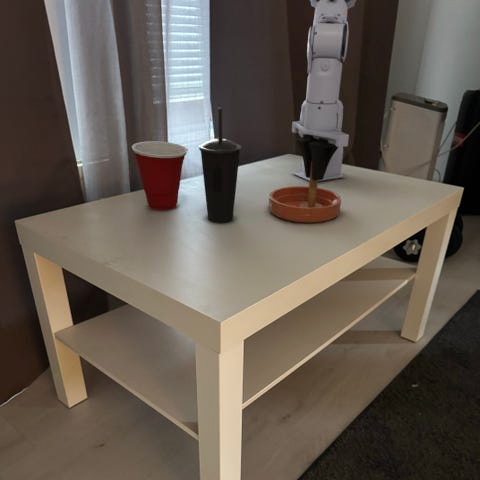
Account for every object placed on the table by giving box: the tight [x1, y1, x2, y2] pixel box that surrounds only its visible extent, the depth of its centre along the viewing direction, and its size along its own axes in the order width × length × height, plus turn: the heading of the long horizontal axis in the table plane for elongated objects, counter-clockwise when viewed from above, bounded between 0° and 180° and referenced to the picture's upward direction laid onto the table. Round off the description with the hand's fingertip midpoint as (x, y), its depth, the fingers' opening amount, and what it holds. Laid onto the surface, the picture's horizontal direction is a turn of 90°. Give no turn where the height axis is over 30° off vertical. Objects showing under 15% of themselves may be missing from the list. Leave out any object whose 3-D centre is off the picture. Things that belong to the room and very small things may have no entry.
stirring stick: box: [300, 162, 322, 208], centre depth 94 cm, size 4×4×10 cm
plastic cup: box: [131, 140, 188, 211], centre depth 97 cm, size 11×11×12 cm
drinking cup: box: [198, 107, 242, 224], centre depth 89 cm, size 8×8×20 cm
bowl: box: [268, 185, 342, 224], centre depth 97 cm, size 14×14×3 cm
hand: (314, 178), depth 93 cm, fingers closed on stirring stick
